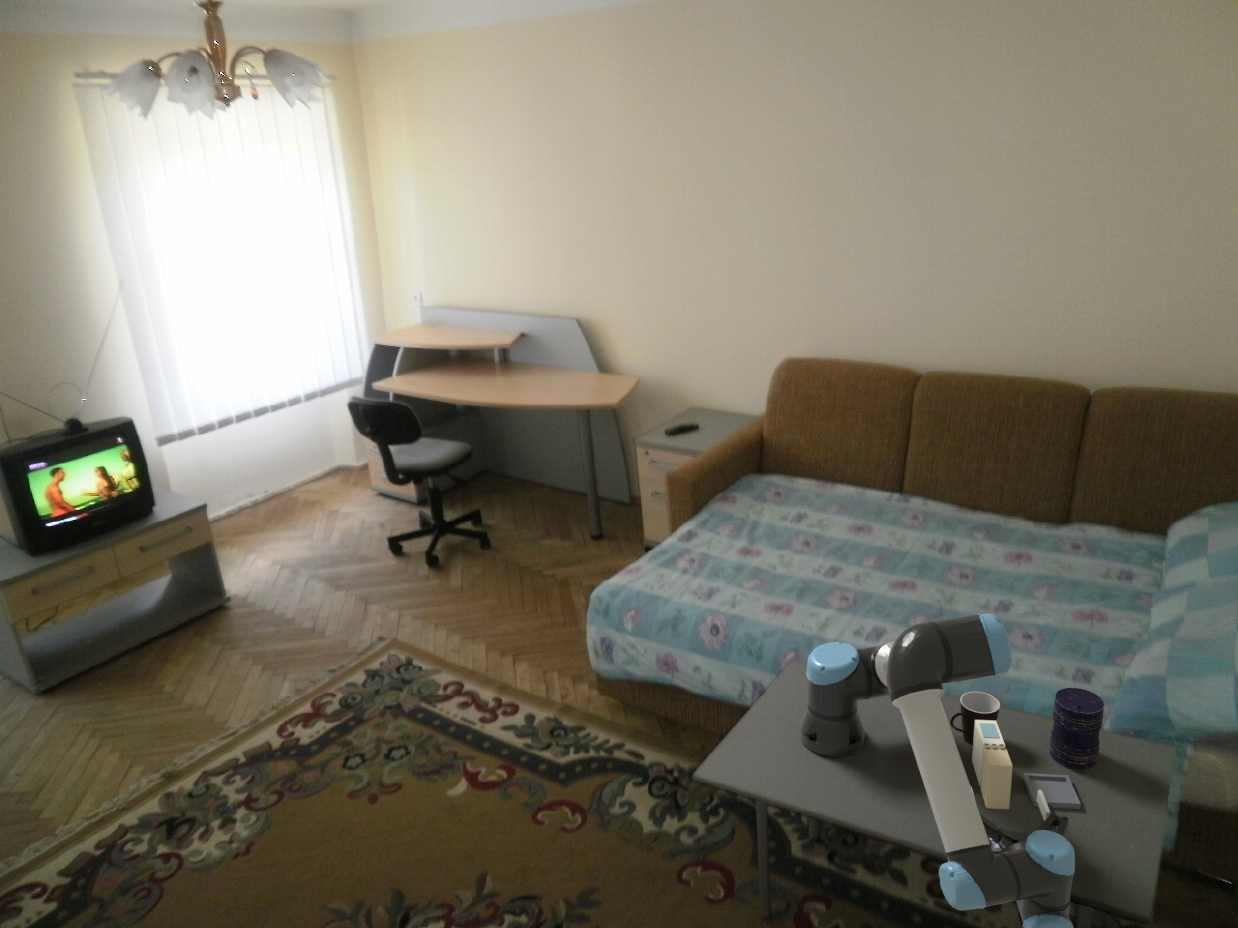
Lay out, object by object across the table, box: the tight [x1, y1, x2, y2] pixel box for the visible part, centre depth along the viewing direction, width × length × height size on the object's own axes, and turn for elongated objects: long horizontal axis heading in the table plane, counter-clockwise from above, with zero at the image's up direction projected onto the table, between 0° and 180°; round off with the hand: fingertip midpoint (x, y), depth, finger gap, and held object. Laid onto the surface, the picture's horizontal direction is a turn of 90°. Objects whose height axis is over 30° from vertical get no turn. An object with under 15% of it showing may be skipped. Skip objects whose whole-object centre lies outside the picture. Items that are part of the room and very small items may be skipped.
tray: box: [1023, 772, 1081, 810], centre depth 191 cm, size 9×9×1 cm
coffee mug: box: [949, 691, 1001, 746], centre depth 209 cm, size 12×9×10 cm
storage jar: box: [1049, 687, 1105, 772], centre depth 199 cm, size 10×10×15 cm
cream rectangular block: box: [980, 747, 1013, 810], centre depth 189 cm, size 4×6×11 cm
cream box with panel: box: [971, 720, 1006, 788], centre depth 196 cm, size 4×9×11 cm, turn 170°
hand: (1003, 793), depth 183 cm, fingers open, 13 cm apart
